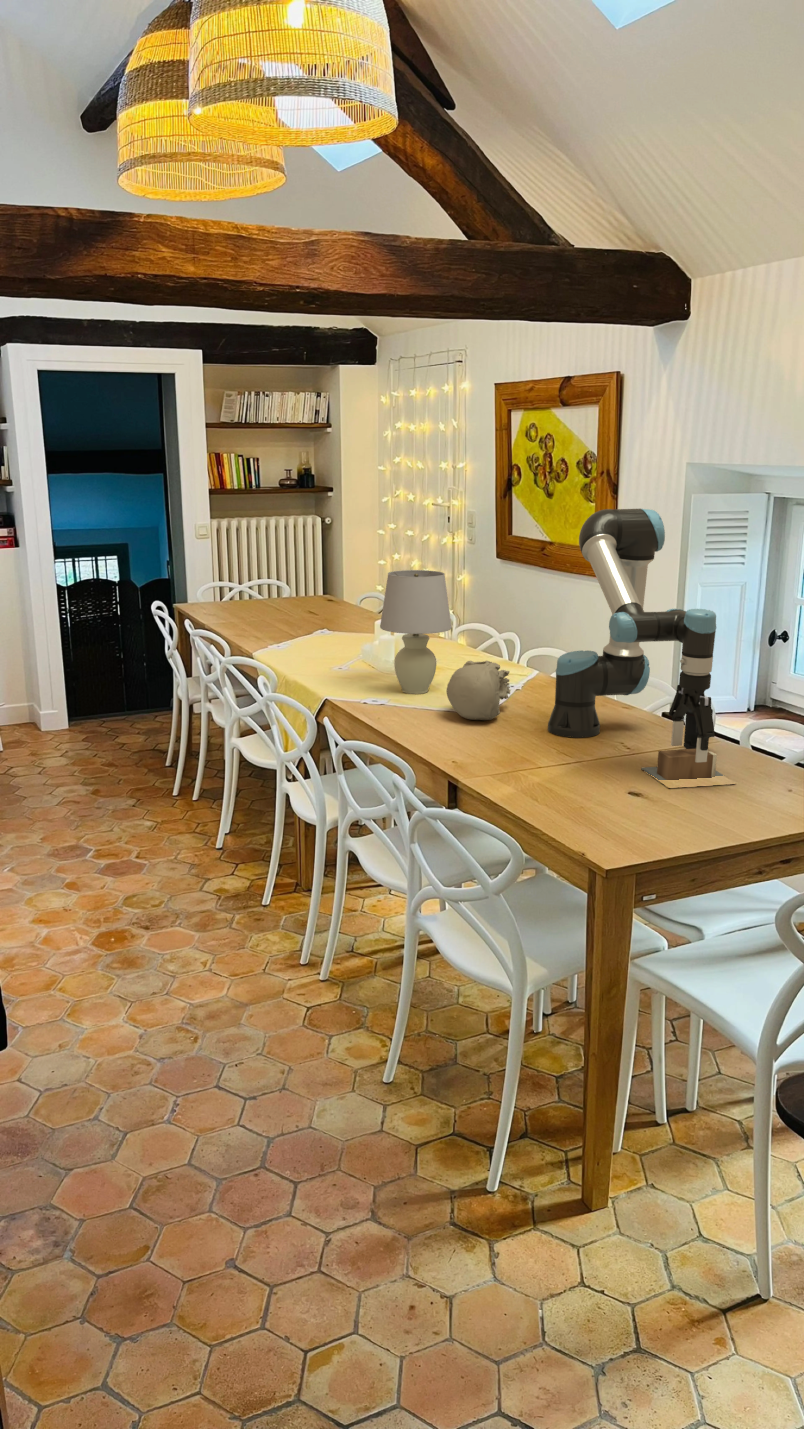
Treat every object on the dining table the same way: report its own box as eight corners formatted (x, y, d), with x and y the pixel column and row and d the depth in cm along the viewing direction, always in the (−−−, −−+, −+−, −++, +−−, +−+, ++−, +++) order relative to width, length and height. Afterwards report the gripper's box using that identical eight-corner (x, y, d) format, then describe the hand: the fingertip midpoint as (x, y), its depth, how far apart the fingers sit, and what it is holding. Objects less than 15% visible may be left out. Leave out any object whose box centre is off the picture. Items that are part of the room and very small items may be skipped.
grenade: (690, 755, 290) (695, 702, 286) (678, 749, 296) (682, 696, 292) (714, 753, 292) (718, 700, 288) (701, 747, 298) (705, 695, 294)
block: (658, 750, 271) (705, 748, 273) (656, 773, 272) (703, 770, 275) (668, 757, 265) (716, 754, 268) (667, 780, 267) (715, 777, 269)
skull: (511, 640, 330) (447, 639, 332) (511, 684, 310) (444, 684, 312) (510, 694, 342) (449, 693, 344) (510, 741, 322) (445, 740, 324)
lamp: (371, 685, 369) (371, 570, 359) (436, 681, 376) (438, 568, 366) (391, 701, 347) (392, 579, 337) (460, 696, 354) (463, 576, 344)
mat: (641, 769, 277) (641, 767, 277) (705, 766, 281) (705, 763, 280) (668, 789, 262) (668, 786, 262) (735, 784, 265) (735, 782, 265)
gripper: (660, 661, 275) (653, 739, 281) (705, 684, 252) (697, 769, 258) (686, 660, 277) (680, 738, 283) (734, 683, 253) (726, 768, 259)
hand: (688, 753), depth 270 cm, fingers open, 13 cm apart
